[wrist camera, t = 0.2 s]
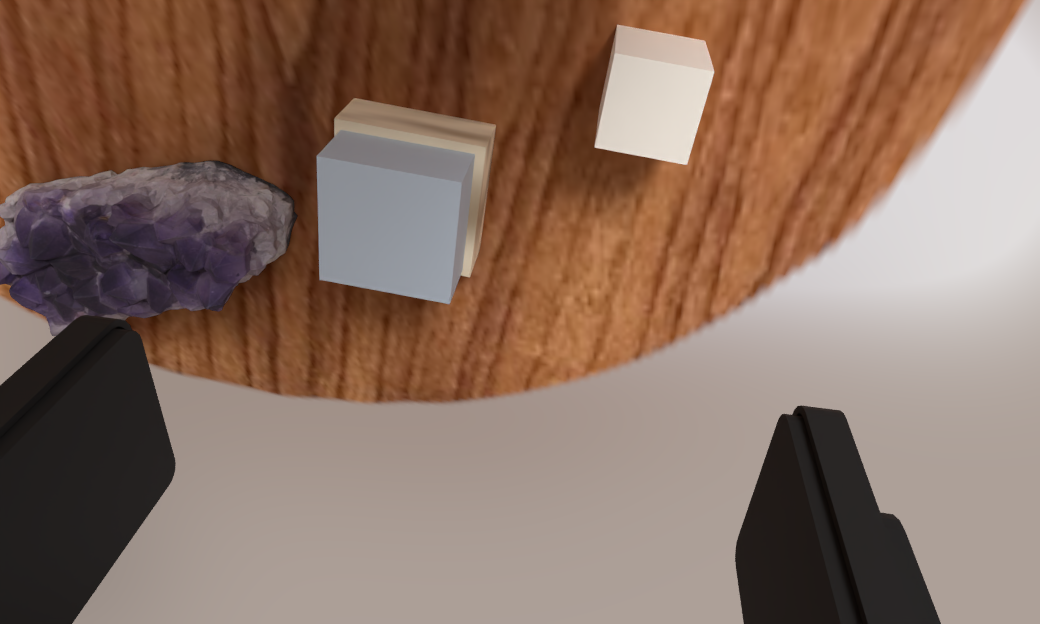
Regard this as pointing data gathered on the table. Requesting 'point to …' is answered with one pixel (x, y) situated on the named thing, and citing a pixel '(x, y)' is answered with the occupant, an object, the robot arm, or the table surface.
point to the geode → (140, 240)
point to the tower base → (437, 134)
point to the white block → (653, 94)
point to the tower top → (393, 215)
